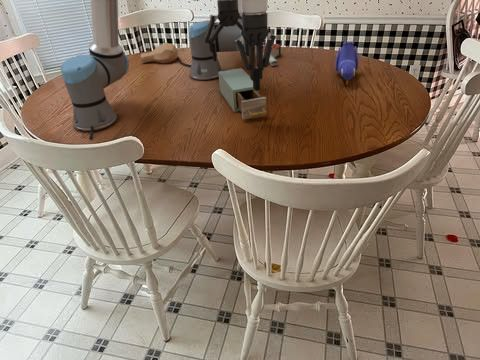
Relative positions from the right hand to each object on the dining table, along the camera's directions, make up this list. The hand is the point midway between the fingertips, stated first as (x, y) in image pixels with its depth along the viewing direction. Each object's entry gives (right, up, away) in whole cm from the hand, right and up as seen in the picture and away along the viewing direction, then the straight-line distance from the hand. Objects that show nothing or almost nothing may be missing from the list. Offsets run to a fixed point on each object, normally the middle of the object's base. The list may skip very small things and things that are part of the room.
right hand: (231, 57), depth 141 cm
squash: (-39, +14, +47) cm, 63 cm away
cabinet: (+3, -16, +3) cm, 16 cm away
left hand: (+9, -18, -23) cm, 31 cm away
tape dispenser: (+18, +13, +41) cm, 47 cm away
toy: (+50, -4, +14) cm, 52 cm away
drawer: (+6, -22, -7) cm, 24 cm away
